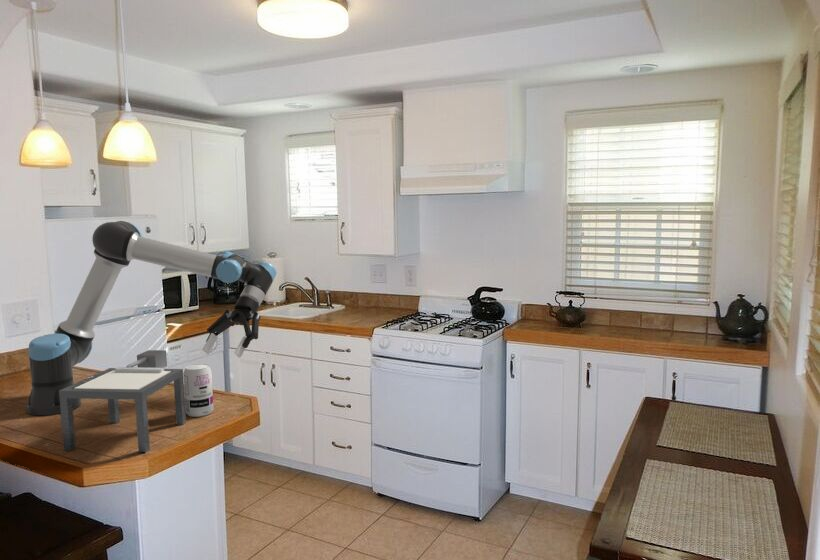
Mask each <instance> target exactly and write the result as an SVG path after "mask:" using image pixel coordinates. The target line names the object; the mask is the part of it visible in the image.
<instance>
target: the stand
mask: <svg viewBox="0 0 820 560" xmlns="http://www.w3.org/2000/svg"><path fill="white" fill-rule="evenodd" d="M116 368H117V367H111V368H110V367H108V368H107V369H105V370H101V371H100V372H98V373H95V374H93V375H91V376H89V377H87V378H85V379H82V380H80V381H77V382H76V383H74V384H73V385H71V386H69V387H66V388H64V389H62V390H60V391H59V397H60V409H61V413H60V420H61V430H62V431H61V432H62V445H63V451H64V452H65V451H66V452H71V451H73V450H75V449H76V436H75V435H76V433H75V423H74V422H75V421H74V409H73V408H72V398H77V399H82V400H84V399H85V400H86V399H87V400H91V399H92V400H107V404H108V405H107V407H108V418H109V419H108V420H109V424H118V423H119V422H120V407H119V406H120V405H119V400H134V404H135V416H136V417H135V421H136V431H137V448H138V449H137V450H138V453H139V452H145V453H144V454H146V452H147V451H148V452H149V451H150V449H151V445H150V433H149V432H150V431H149V418H148V417H149V416H148V404H147V403H148V402H147V401H148V400H147V398H148V397H150V396H151V395H153V394H155V393H156V392H158V391H159V390H161V389H163V388H164V387H166V386H168V385H170V384H171V383H173V390H174V405H175V406H174V407H175V409H174V410H175V421H176V423H175V424H177V425H176V426H184V425H185V424H186V423H187V418H186V415H187V414H186V408H185V391H184V374H183V373H184V368H164V371H171V372H170V373H168V374H166V375H165V376H163V377H161V378H159V379H157V380H155V381H154V382H152V383H150V384H148V385H146V386H145V387H143V388H141V389H139V390H119V389H74V388H75V387H78V386H80V385H82V384H84V383H86V382H89V381H91V380H93V379H95V378H97V377H99V376H102V375H104V374H106V373H108V372H110V371H112V370H115V369H116ZM148 452H147V453H148Z"/></svg>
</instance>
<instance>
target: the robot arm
mask: <svg viewBox="0 0 820 560" xmlns="http://www.w3.org/2000/svg"><path fill="white" fill-rule="evenodd" d="M91 238H92V240H91V241H92V245H93V247H94V250H93V254H94V256H95V260H94V261H93V264H92V266H91V268H90V270H89V273H88V275H87V276H86V279H85V281H84V283H83V285H82V287H81V289H80V291H79V293H78V296H77V298H76V300H75V302H74V303H73V306H72V308H71V310H70V312H69V314H68V316H67V319H66V320H64V321H61V322H60V323H58V326H57V329H56V330H55V332H54V333H50V334H49V333H48V334H44V335H40V336H37V337H35V338H34V339H32V340H31V341H30V342H29V343H28V350H27V351H28V352H27V355H28V360H29V370H30V379H31V382H30V383H31V390H30V394H29V397H28V402H27V405H26V410H27V414H29V415H32V416H50V415H51V416H52V415H57V414H61V409H60V397H59V391H60V390H62V389H64V388H66V387H69V386H71V385H73V384H75V383H74V377H73V375H74V374H73V367H74V366H76V365H77V364H80V363H82V362H83V361H85V360H86V359H87V357H88V356H89V355H90V354H91V352H92V349H93V341H94V338H95V336H96V333H95V331H94V328H95V325H96V323H97V321H98V319H99V317H100V314H101V313H102V311H103V308H104V306H105V304H106V302H107V300H108V298H109V296H110V293H111V292H112V289H113V287H114V285H115V283H116V281H117V278H118V277H119V274H121V273H120V272H121V271H122V269H123V268H126V267H129V264H130V263H131V261H132V260H136V261H137V260H138V261H141V262H146V263H151V264H154V265H158V266H162V267H167V268H169V269H175V270H179V271H184V272H187V273H193V274H196V275H200V276H205V277H209V278H213V279H216V280H219V281H221V282H223V283H225V284H226V283H227V284H232V283H235V282H236V281H239V282H241V283H244V284H245V286H244V288H243V290H242V292H241V293H240V295H239V297H238V299H237V300H236V303H235V304H234V310H233V311H230V310H229V309H226V310H225V311H224V312H223V313H222V315H221V316H219V317H218V318H217V320H215V321H214V322H213V323H212V324H211V325H210V326H209V327H208V328H207V329H206V332H207V333H209V335H208V337H207V338H206V340H205V344H204V345H203V347H202V351H203V352H204V353H205V354H207V355H209V354H210V352H211V350H212V348H213V347H214V345H215V343H216V342H217V340H218V335H221V334H222V333H223V332H225V331H226V330H228V329H229V328H230V327H234V326H243V329H244V336H242V338H241V340H240V342H239V343H238V346H237V347H236V348H235V350H234V355H235V356H237V357H238V359H239V358H241V357H242V356H243V354H244V352H245V350H246V349H247V348H248V347H249V345H250V344H251V342H252V341H253V340H258V339H259V327H260V326H259V325H260V323H259V322H260V319H261V315H260V314H259V313H258V310H259V309H260V306H261V304H262V303H263V300H264V299H265V297H266V295H267V293H268V291H269V289H270V288H271V286H272V285H273V284H272V283H273V282H274V280H275V278H276V276H277V269H276V267H275V266H274V265H272V264H271V263H270V262H265V261H260V262H258V263H257V264H255V263H252V262H251V261H248V260H247V259H244V258H243V257H241V256H239V255H237V254H235V253H233V252H230V251H224V252H223V253H222V255H221V256H220V255H216V254H211V253H208V252H206V251H205V252H204V251H200V250H197V249H192V248H189V247H188V248H187V247H184V246H180V245H177V244H172V243H168V242H164V241H160V240H156V239H151V238H148V237H143V234H142V233H141V230H140V229H139V228H138V227H137V226H136V225H135V224H133V223H131V222H129V221H124V220H118V221H109V222H108V221H107V222H104V223H102V224H100V225H98V226H97V227H96V229H95V230H94V231H93V234H92V237H91ZM250 321H251V323H250ZM81 405H82V400H81V399H77V398H72V408H73V410H75V409H78V408H79V407H81Z"/></svg>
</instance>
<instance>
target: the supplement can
mask: <svg viewBox="0 0 820 560" xmlns="http://www.w3.org/2000/svg"><path fill="white" fill-rule="evenodd" d="M212 374H213V373H212V369H211V367H210V365H209V364H207V363H195V364H194V363H193V364H191V365H187V366H185V369H184V370H183V381H184V398H185V415H187V416H189V417H192V418H199V417H200V418H202V417H206V416H208V415H210V414H212V412H213V411H214V395H213V394H214V393H213V377H212Z"/></svg>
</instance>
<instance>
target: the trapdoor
mask: <svg viewBox="0 0 820 560" xmlns="http://www.w3.org/2000/svg"><path fill="white" fill-rule="evenodd" d="M167 358H168V357H167V350H164V349H162V350H161V349H159V350H158V349H157V350H155V349H154V350H153V349H149V350H146V351H144V352H141V353H139V354H137V355H136V360H135V361H134V362H131V363H129V364H127V365H126V366H123V367H122V366H118V367H115V368H116V369H115V370H112V371H110V372H108V373H106V374H104V375H102V376H99V377H97V378H95V379H93V380H91V381H89V382H86V383H84V384H82V385H80V386H78V387H75V388H74V389H119V390H139V389H141V388H143V387H145V386H146V385H148V384H150V383H152V382H154V381H155V380H157V379H159V378H161V377H163V376H165V375H166V374H168V373H170V372H171V371H164V369H165V368H166V367H167V366H168V359H167ZM136 366H137V367H136Z"/></svg>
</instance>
